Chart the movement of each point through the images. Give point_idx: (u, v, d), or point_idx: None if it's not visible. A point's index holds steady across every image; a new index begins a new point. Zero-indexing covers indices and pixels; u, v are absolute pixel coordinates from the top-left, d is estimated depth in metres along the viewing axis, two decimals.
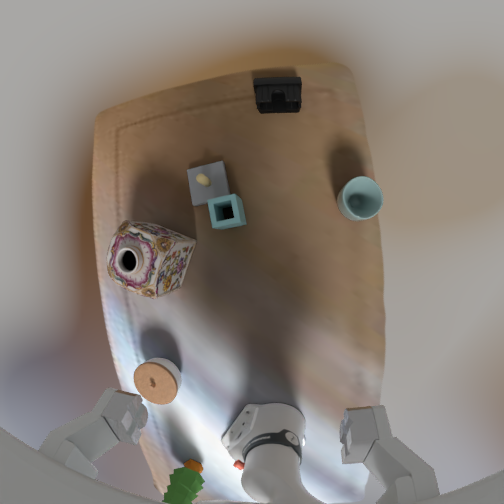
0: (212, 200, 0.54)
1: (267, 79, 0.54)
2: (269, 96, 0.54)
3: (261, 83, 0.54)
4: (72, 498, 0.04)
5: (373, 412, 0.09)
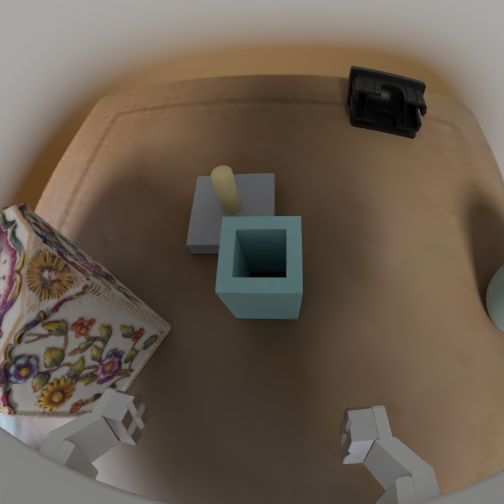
0: (236, 221, 0.20)
1: None
2: (377, 87, 0.28)
3: (364, 69, 0.29)
4: (72, 498, 0.04)
5: (373, 412, 0.09)
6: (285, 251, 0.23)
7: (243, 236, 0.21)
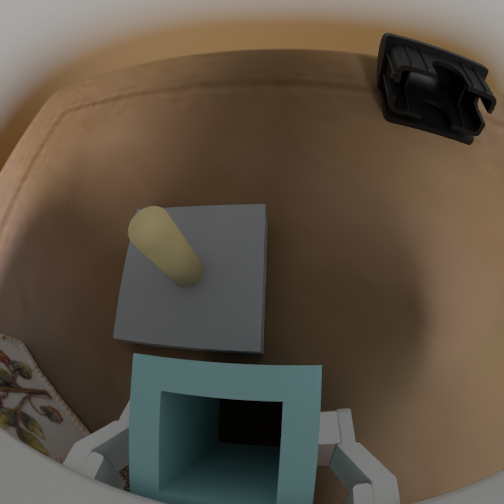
0: (161, 368, 0.08)
1: (416, 40, 0.17)
2: (429, 64, 0.15)
3: (405, 38, 0.16)
4: (72, 498, 0.04)
5: (337, 415, 0.09)
6: None
7: None
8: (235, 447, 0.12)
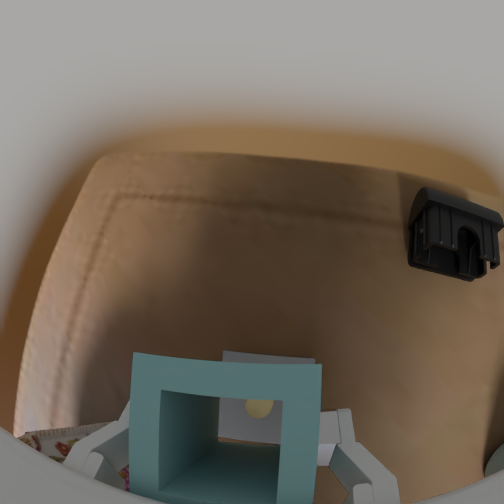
0: (161, 367, 0.08)
1: (451, 197, 0.23)
2: (454, 236, 0.22)
3: (443, 201, 0.23)
4: (72, 498, 0.04)
5: (337, 415, 0.09)
6: None
7: None
8: (235, 447, 0.12)
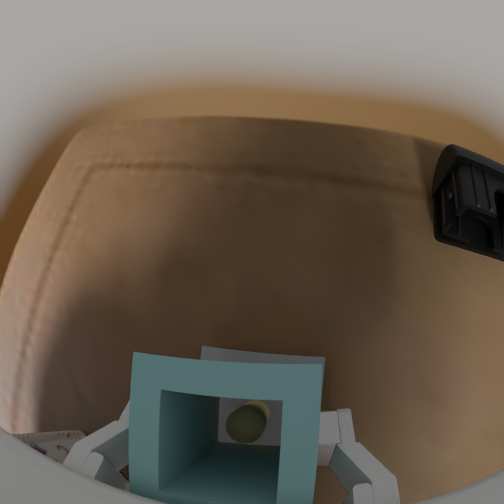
0: (161, 366, 0.08)
1: (482, 156, 0.17)
2: (491, 199, 0.16)
3: (474, 158, 0.17)
4: (72, 498, 0.04)
5: (338, 415, 0.09)
6: None
7: None
8: (235, 447, 0.12)
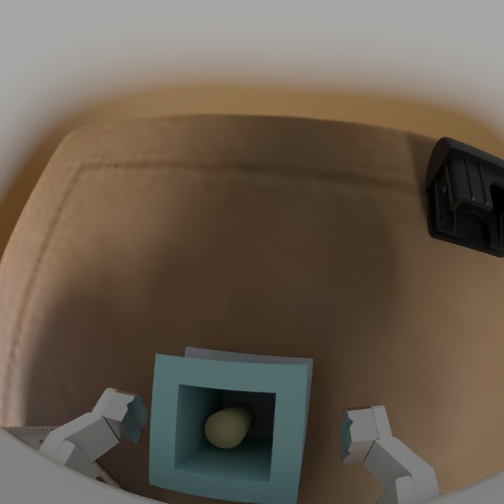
0: (179, 365, 0.10)
1: (476, 148, 0.17)
2: (487, 192, 0.15)
3: (468, 151, 0.16)
4: (72, 498, 0.04)
5: (373, 412, 0.09)
6: None
7: None
8: None
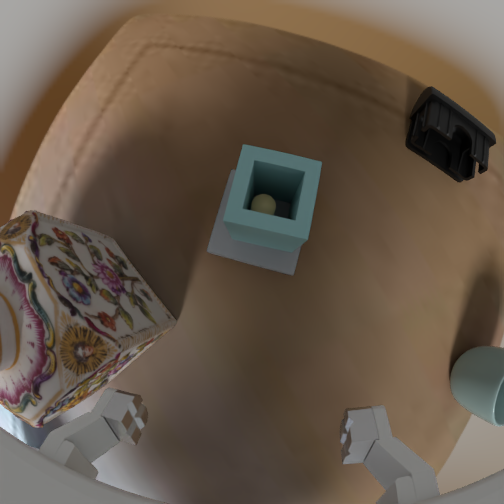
0: (256, 151, 0.19)
1: (452, 101, 0.23)
2: (450, 128, 0.23)
3: (444, 100, 0.23)
4: (72, 498, 0.04)
5: (373, 412, 0.09)
6: (296, 188, 0.22)
7: (259, 167, 0.20)
8: None
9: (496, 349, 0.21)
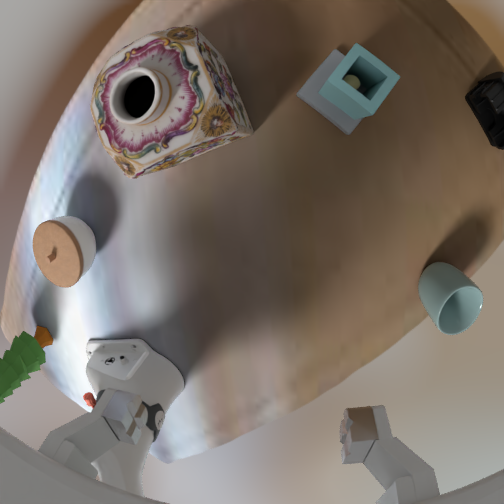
0: (362, 50, 0.21)
1: None
2: (501, 107, 0.23)
3: None
4: (72, 498, 0.04)
5: (373, 412, 0.09)
6: (376, 82, 0.25)
7: (360, 60, 0.23)
8: None
9: (461, 272, 0.32)
